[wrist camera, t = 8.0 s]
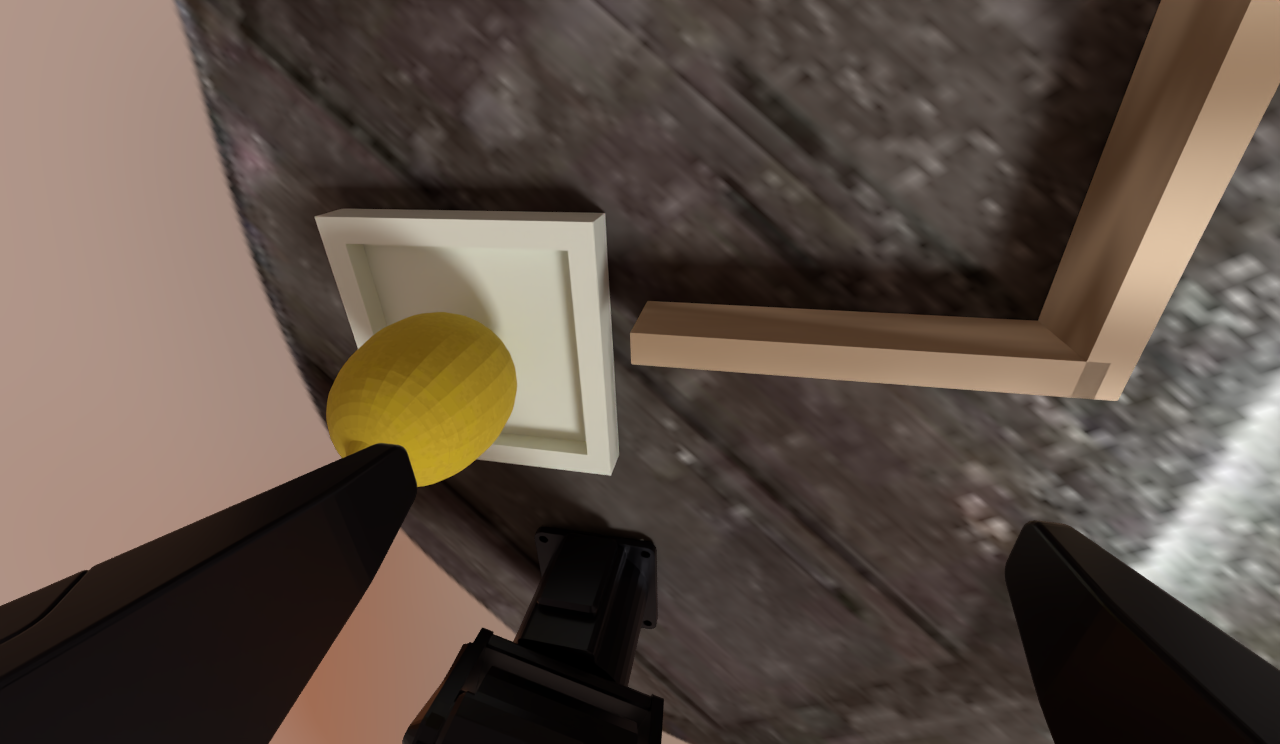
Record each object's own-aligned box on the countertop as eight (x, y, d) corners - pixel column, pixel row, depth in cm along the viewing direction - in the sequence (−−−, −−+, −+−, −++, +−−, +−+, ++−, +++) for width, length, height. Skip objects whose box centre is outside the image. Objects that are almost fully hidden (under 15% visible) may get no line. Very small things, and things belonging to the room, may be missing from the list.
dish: (619, 454, 24) (611, 475, 22) (409, 431, 26) (391, 449, 24) (604, 212, 18) (593, 222, 17) (342, 208, 20) (314, 216, 19)
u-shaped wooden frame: (1064, 354, 17) (1117, 401, 15) (648, 329, 20) (631, 364, 18) (1385, -396, 10) (1611, -571, 7) (635, -267, 12) (603, -360, 10)
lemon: (400, 308, 21) (231, 410, 15) (504, 264, 19) (364, 359, 13) (468, 413, 23) (348, 546, 17) (569, 383, 21) (478, 520, 15)
